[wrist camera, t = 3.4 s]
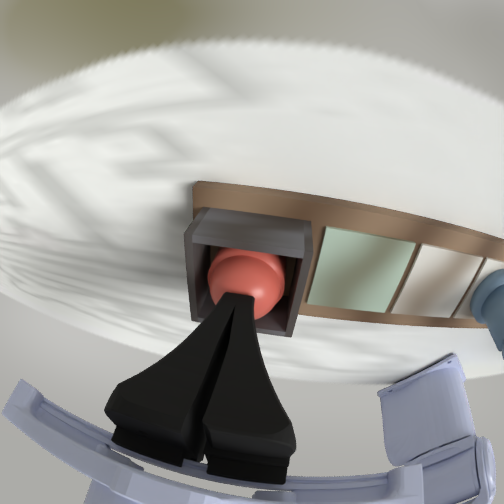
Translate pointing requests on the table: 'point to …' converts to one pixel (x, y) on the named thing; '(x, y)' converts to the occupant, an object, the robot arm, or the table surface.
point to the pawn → (491, 306)
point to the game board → (341, 258)
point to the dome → (248, 277)
